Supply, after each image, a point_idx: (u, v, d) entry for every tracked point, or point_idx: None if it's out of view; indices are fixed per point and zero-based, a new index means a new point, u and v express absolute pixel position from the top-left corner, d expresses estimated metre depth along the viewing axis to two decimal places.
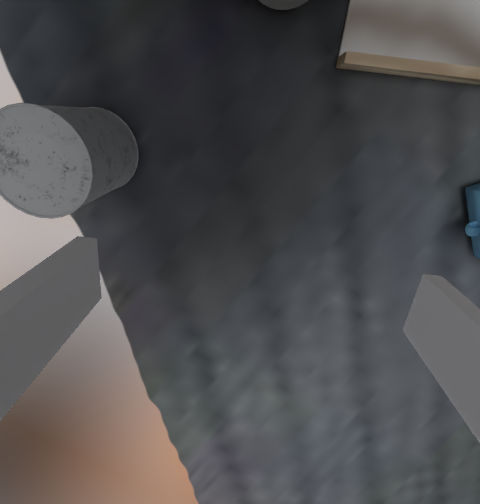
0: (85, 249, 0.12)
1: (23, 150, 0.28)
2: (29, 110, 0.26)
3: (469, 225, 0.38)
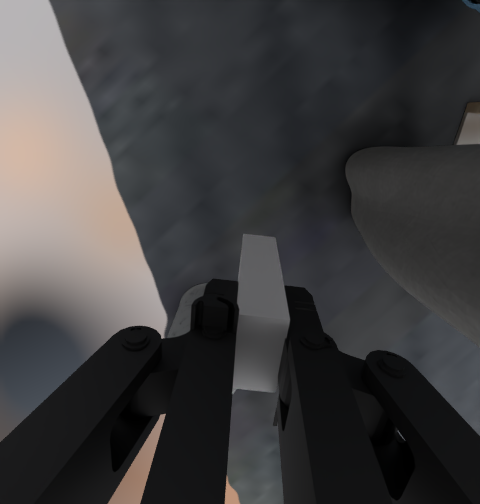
0: None
1: None
2: None
3: None
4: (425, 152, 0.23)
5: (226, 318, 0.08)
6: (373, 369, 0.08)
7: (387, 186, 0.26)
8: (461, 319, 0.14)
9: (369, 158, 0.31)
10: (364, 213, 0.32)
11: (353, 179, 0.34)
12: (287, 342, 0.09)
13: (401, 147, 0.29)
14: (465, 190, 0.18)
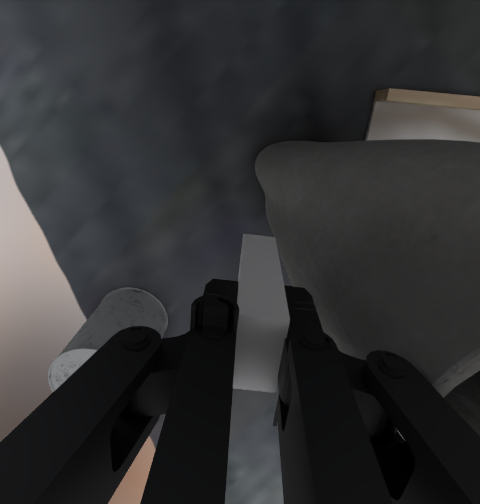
0: None
1: None
2: (89, 351, 0.32)
3: None
4: (327, 151, 0.20)
5: (226, 318, 0.08)
6: (373, 369, 0.08)
7: (292, 191, 0.22)
8: None
9: (274, 156, 0.27)
10: (275, 219, 0.28)
11: (262, 180, 0.30)
12: (287, 342, 0.09)
13: (307, 143, 0.26)
14: (369, 201, 0.14)
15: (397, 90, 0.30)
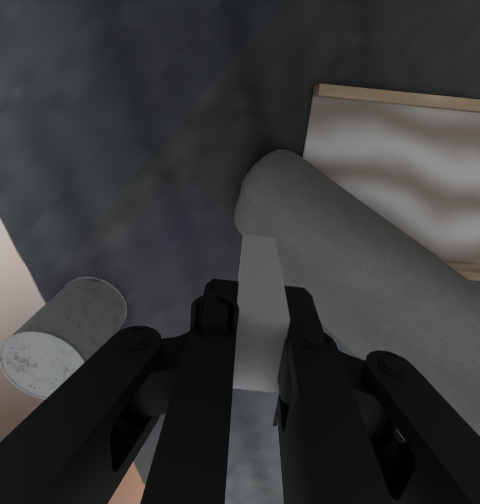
0: None
1: (32, 358, 0.35)
2: (37, 334, 0.34)
3: None
4: (399, 266, 0.26)
5: (226, 318, 0.08)
6: (373, 369, 0.08)
7: (353, 276, 0.28)
8: None
9: (314, 218, 0.28)
10: (290, 261, 0.31)
11: (275, 217, 0.29)
12: (287, 342, 0.09)
13: (340, 208, 0.28)
14: (447, 335, 0.26)
15: (328, 85, 0.31)
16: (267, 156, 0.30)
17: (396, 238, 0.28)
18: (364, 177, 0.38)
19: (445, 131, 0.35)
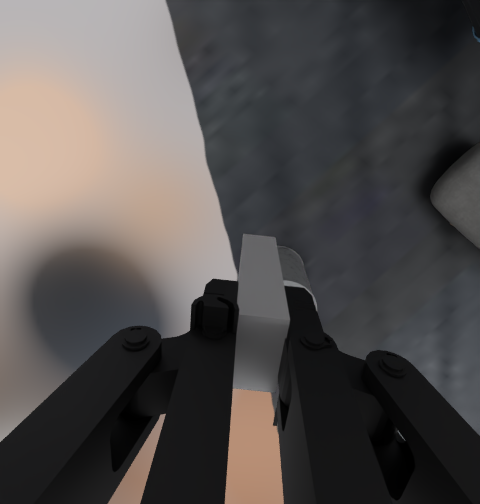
0: None
1: None
2: (285, 282, 0.43)
3: None
4: None
5: (226, 318, 0.08)
6: (373, 369, 0.08)
7: None
8: None
9: None
10: None
11: None
12: (287, 342, 0.09)
13: None
14: None
15: None
16: None
17: None
18: None
19: None
